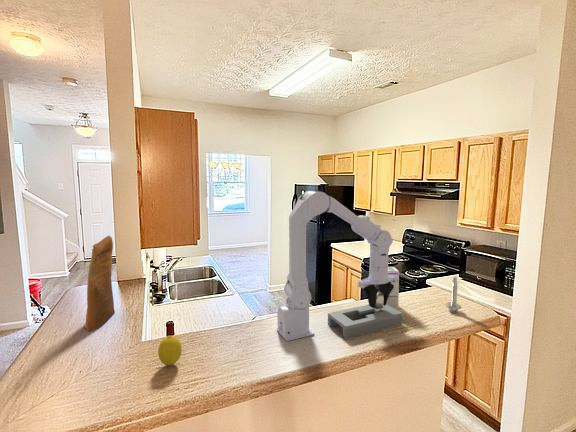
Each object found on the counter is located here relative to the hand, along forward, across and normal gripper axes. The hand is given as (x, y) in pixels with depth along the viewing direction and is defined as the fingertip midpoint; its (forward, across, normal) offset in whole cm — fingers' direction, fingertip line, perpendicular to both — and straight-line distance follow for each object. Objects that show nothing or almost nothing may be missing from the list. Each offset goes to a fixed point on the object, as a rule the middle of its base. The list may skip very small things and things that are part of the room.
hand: (377, 305), depth 100 cm
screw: (+6, -30, +5) cm, 31 cm away
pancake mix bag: (+6, +84, -40) cm, 93 cm away
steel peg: (+5, 0, 0) cm, 5 cm away
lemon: (+6, +64, -3) cm, 64 cm away
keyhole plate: (+6, +5, 0) cm, 8 cm away
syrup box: (+6, -12, -8) cm, 16 cm away
